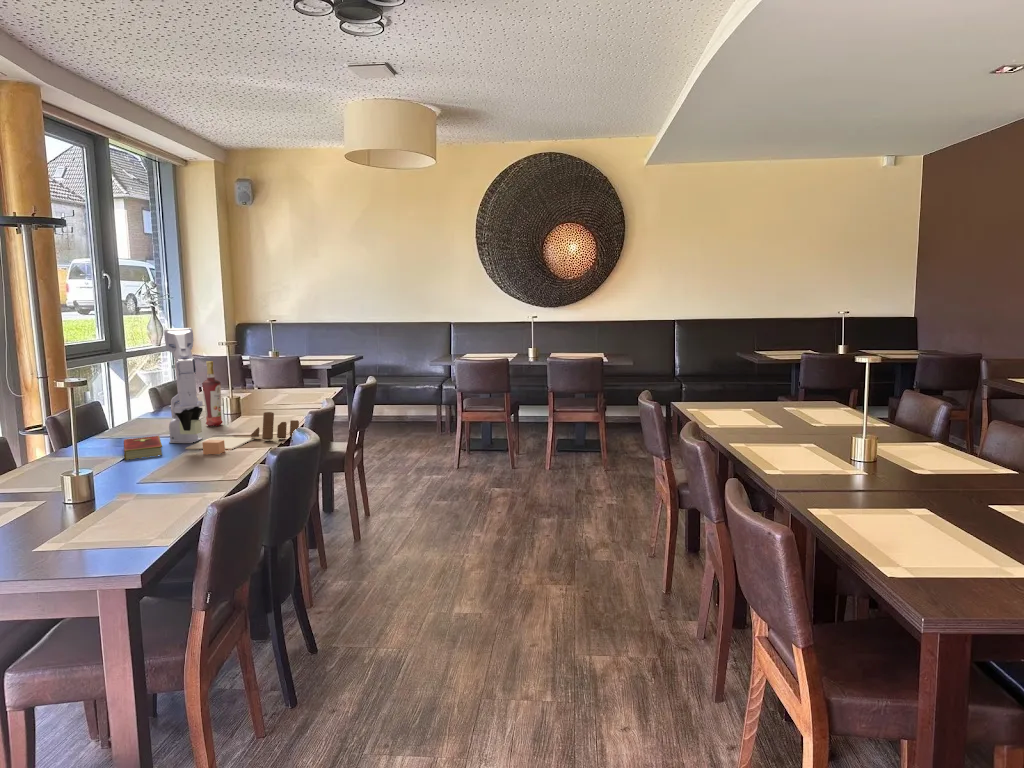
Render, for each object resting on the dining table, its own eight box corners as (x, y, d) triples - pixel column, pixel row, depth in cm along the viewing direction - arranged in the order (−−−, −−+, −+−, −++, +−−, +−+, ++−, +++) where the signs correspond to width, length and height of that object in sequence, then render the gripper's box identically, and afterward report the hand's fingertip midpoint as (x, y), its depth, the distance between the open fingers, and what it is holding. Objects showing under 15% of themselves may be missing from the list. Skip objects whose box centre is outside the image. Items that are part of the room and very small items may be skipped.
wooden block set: (298, 441, 276) (299, 416, 278) (297, 438, 267) (298, 412, 270) (250, 441, 272) (252, 415, 274) (247, 438, 263) (249, 411, 266)
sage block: (180, 434, 250) (179, 421, 249) (186, 431, 254) (185, 419, 253) (195, 434, 249) (194, 422, 248) (201, 432, 253) (200, 419, 252)
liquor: (216, 427, 295) (211, 362, 291) (201, 427, 297) (196, 362, 293) (227, 424, 302) (222, 360, 298) (212, 423, 304) (207, 360, 300)
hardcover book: (124, 461, 241) (123, 449, 240) (124, 449, 259) (123, 438, 258) (163, 457, 247) (162, 445, 246) (159, 445, 265) (159, 434, 264)
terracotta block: (203, 454, 248) (202, 442, 247) (209, 452, 252) (208, 439, 251) (219, 454, 247) (218, 442, 246) (225, 452, 251) (224, 440, 250)
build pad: (185, 449, 256) (185, 447, 256) (211, 438, 274) (211, 437, 273) (231, 449, 254) (231, 448, 254) (255, 439, 272) (255, 437, 271)
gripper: (186, 395, 241) (189, 433, 243) (209, 389, 256) (211, 425, 258) (167, 395, 242) (170, 433, 244) (191, 389, 257) (194, 424, 259)
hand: (190, 429), depth 251 cm, fingers closed on sage block, 4 cm apart
